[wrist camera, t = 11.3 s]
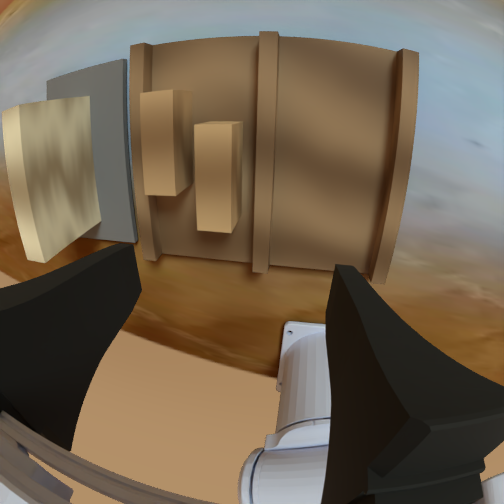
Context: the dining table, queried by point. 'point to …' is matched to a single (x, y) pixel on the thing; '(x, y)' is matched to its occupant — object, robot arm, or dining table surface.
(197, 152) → the teak offcut
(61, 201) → the birch panel
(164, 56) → the walnut rack
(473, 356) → the dining table surface
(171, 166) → the teak offcut
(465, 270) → the dining table surface
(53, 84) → the charcoal mat
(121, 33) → the dining table surface
